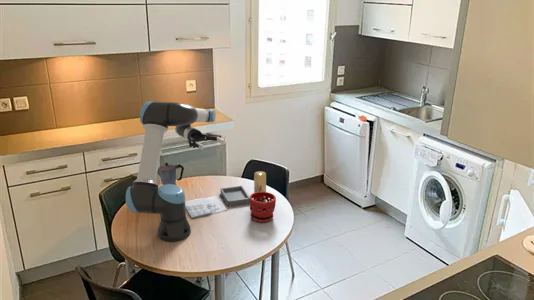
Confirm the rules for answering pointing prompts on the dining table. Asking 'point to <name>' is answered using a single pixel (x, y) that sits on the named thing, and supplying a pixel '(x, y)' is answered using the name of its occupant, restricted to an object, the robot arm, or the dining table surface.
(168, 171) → the moka pot
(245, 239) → the dining table surface
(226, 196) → the slate tray
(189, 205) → the bicycle print cloth
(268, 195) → the plant pot
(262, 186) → the cylinder
